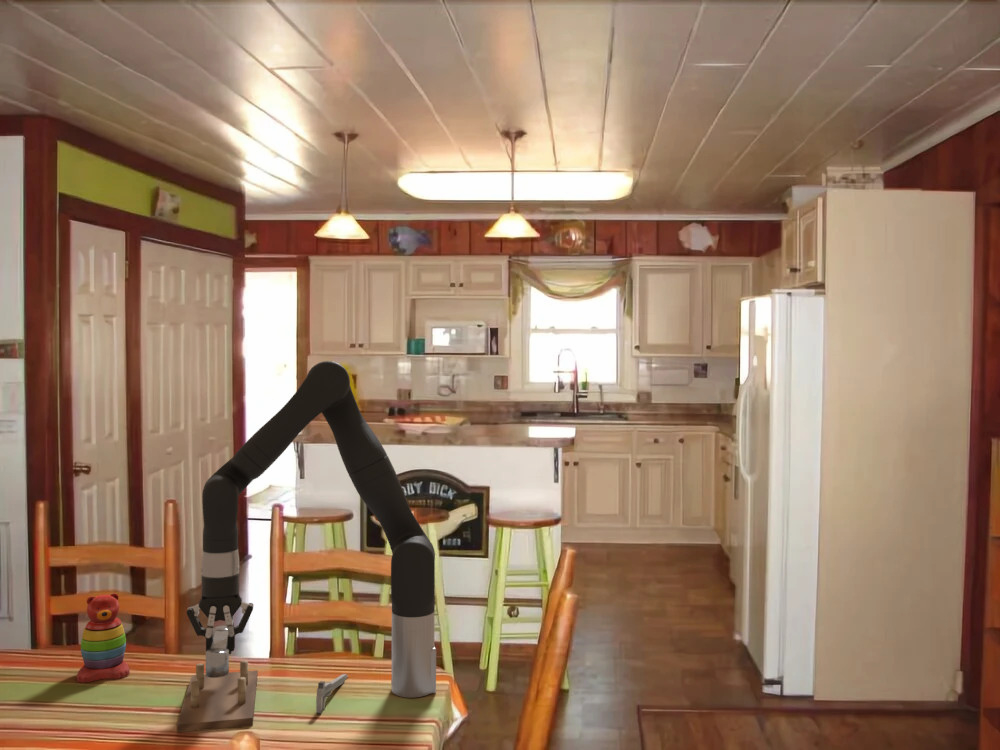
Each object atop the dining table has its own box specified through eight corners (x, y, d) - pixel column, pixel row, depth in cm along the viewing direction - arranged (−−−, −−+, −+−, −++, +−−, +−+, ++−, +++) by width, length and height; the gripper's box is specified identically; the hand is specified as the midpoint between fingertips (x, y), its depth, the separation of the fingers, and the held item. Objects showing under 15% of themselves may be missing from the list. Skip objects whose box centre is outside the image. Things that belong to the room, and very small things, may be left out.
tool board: (257, 677, 196) (257, 648, 196) (252, 725, 171) (252, 692, 171) (191, 682, 193) (191, 652, 193) (177, 732, 168) (176, 698, 168)
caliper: (321, 715, 176) (321, 685, 176) (316, 715, 177) (316, 684, 176) (348, 678, 197) (348, 650, 197) (343, 678, 197) (343, 650, 197)
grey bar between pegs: (234, 645, 192) (234, 624, 192) (228, 676, 172) (228, 653, 172) (213, 646, 191) (213, 626, 191) (204, 678, 171) (204, 655, 171)
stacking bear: (75, 684, 191) (75, 603, 191) (78, 668, 201) (78, 591, 200) (129, 677, 196) (129, 598, 195) (129, 662, 205) (129, 587, 204)
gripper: (256, 565, 187) (256, 645, 187) (186, 568, 183) (186, 650, 184) (254, 574, 179) (254, 657, 180) (182, 577, 176) (182, 662, 177)
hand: (220, 653), depth 182 cm, fingers closed on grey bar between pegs, 3 cm apart
